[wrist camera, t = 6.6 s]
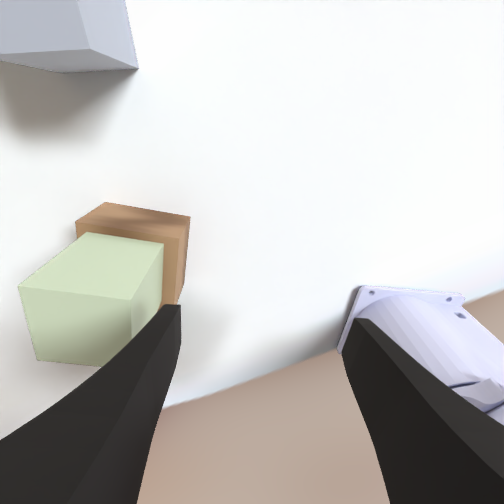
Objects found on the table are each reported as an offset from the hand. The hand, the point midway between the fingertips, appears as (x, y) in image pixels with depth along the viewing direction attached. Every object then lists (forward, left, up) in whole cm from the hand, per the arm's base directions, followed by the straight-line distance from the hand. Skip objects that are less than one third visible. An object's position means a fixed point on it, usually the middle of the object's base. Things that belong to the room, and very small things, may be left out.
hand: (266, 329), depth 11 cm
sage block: (+8, +2, -7) cm, 11 cm away
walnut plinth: (+8, +2, -11) cm, 13 cm away
